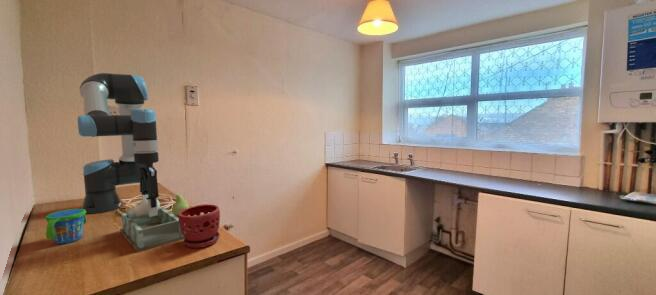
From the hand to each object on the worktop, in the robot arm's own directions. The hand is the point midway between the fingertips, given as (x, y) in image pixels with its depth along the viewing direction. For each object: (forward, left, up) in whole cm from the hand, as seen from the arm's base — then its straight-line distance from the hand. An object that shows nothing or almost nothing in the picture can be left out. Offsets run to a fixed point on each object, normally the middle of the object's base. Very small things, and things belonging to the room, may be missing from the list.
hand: (150, 213), depth 107 cm
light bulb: (0, -2, 0) cm, 2 cm away
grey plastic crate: (0, 0, -8) cm, 8 cm away
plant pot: (+20, +10, -9) cm, 24 cm away
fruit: (-14, +15, -9) cm, 22 cm away
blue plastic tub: (-17, -22, -9) cm, 29 cm away
